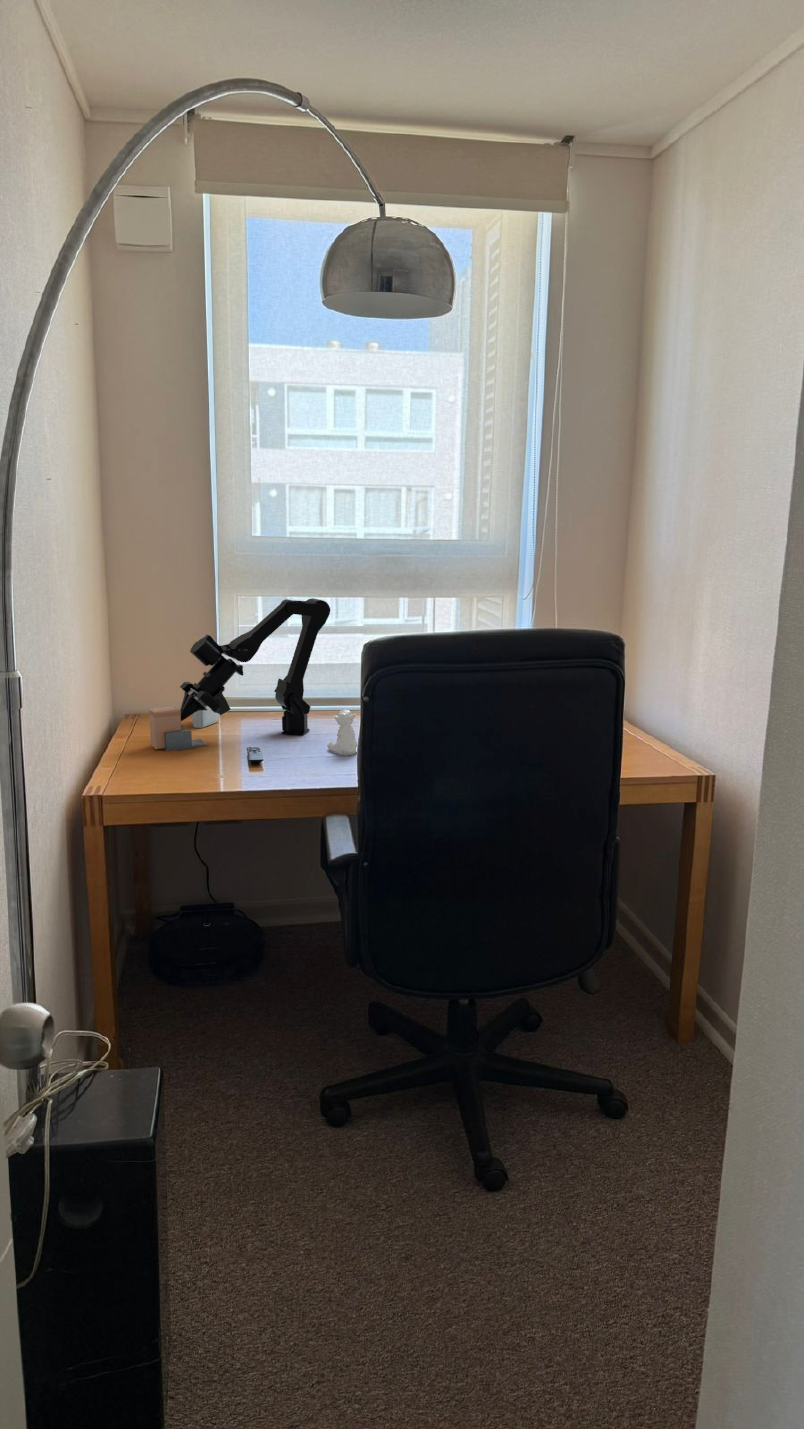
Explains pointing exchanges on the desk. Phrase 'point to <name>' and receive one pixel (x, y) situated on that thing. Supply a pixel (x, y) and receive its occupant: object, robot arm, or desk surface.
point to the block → (163, 724)
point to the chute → (181, 740)
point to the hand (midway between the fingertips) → (179, 720)
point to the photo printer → (204, 718)
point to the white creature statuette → (344, 735)
